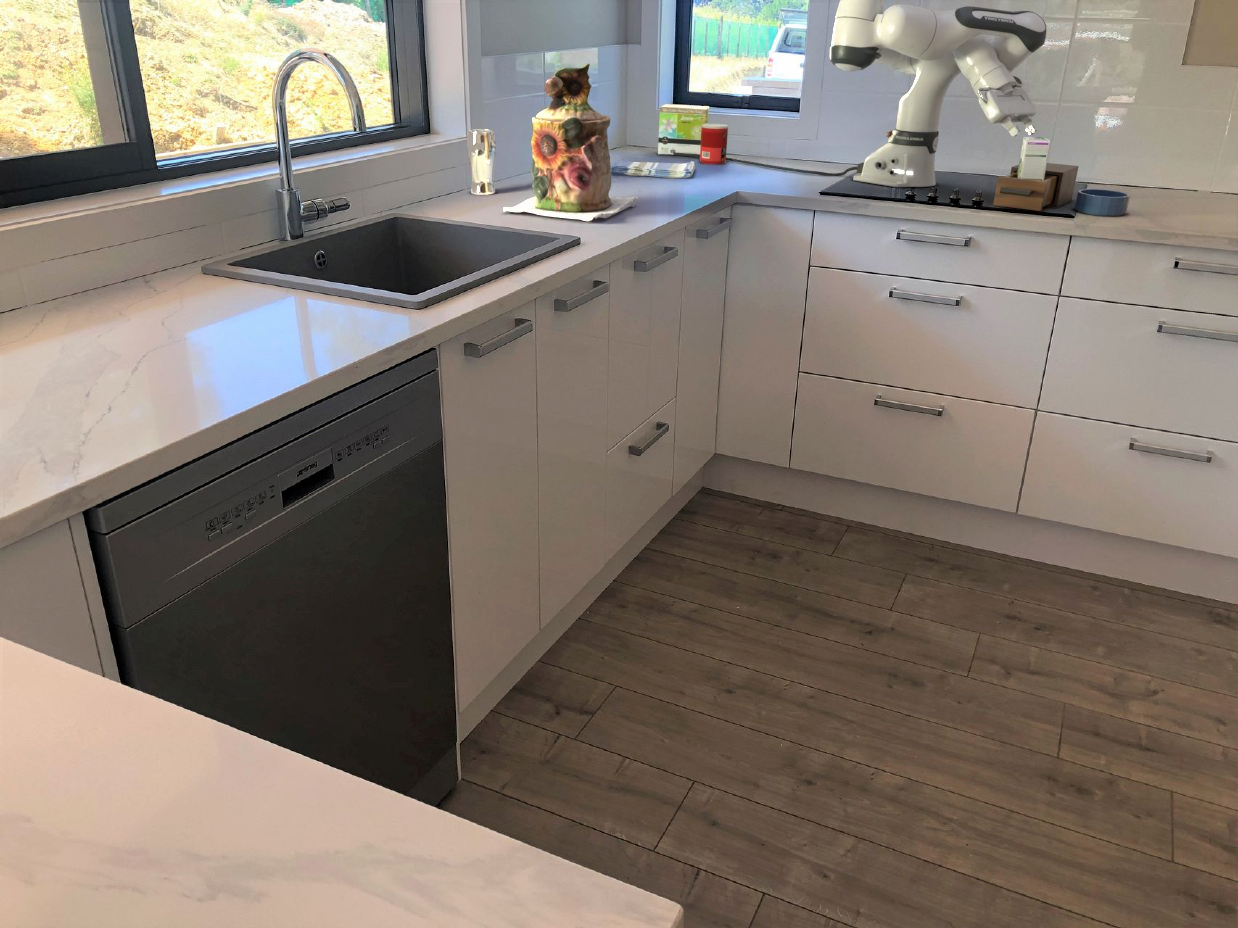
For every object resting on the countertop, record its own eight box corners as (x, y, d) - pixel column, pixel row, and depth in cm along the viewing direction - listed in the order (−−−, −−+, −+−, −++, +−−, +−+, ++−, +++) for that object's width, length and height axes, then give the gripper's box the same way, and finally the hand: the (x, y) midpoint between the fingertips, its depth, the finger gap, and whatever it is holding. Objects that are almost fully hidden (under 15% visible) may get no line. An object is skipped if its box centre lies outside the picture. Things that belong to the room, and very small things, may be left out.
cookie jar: (547, 197, 250) (546, 58, 236) (640, 206, 241) (644, 63, 228) (499, 214, 229) (495, 63, 216) (598, 225, 221) (600, 68, 207)
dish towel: (692, 179, 280) (692, 169, 278) (608, 175, 283) (608, 165, 282) (697, 170, 295) (697, 160, 294) (618, 166, 298) (618, 156, 297)
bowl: (1069, 212, 246) (1072, 193, 244) (1081, 205, 254) (1084, 187, 253) (1119, 218, 240) (1124, 199, 238) (1130, 211, 248) (1134, 193, 246)
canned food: (726, 164, 306) (729, 126, 301) (700, 164, 306) (702, 126, 301) (724, 161, 313) (727, 124, 308) (699, 160, 313) (700, 123, 308)
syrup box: (1040, 201, 247) (1052, 140, 241) (1015, 200, 248) (1026, 138, 242) (1037, 197, 252) (1048, 137, 246) (1012, 196, 253) (1023, 136, 247)
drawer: (1035, 213, 238) (1041, 184, 236) (987, 207, 244) (992, 178, 242) (1056, 203, 251) (1061, 175, 249) (1009, 197, 257) (1014, 170, 255)
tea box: (657, 155, 321) (658, 106, 315) (661, 151, 330) (662, 103, 324) (704, 157, 319) (706, 108, 313) (706, 153, 328) (709, 105, 322)
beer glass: (485, 189, 258) (483, 128, 252) (502, 193, 254) (501, 131, 248) (463, 192, 254) (461, 130, 248) (480, 196, 249) (478, 133, 243)
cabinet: (1056, 208, 251) (1063, 172, 247) (1005, 201, 257) (1011, 167, 254) (1071, 200, 261) (1078, 166, 258) (1022, 194, 268) (1028, 161, 264)
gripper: (986, 79, 239) (1017, 126, 236) (1023, 79, 252) (1053, 124, 250) (965, 97, 243) (995, 144, 241) (1003, 96, 257) (1031, 141, 255)
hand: (1025, 134), depth 246 cm, fingers open, 8 cm apart
